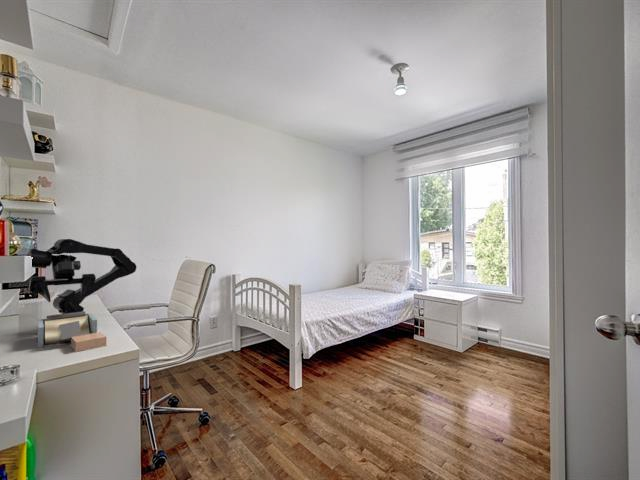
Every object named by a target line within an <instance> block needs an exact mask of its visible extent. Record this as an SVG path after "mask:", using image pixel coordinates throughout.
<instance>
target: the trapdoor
mask: <svg viewBox="0 0 640 480" xmlns="http://www.w3.org/2000/svg"><path fill="white" fill-rule="evenodd" d="M86 314H87V313H86V311H85V310H83V312H74V313H66V314H63V313H59V314H50V315H49V314H48V315H46V319H47V321H44V324H45V337H44V343H45V344H44V345H50V344H57V343H61V342H62V343H63V342H67V341H71V339H69V340H65V341H61V342H60V340H59V332H58V327H59V325H61V324H66V323H71V322H75V321H79V324H80V331H81V335H86V334H90V332H89V325H88V315H86Z"/></svg>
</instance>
